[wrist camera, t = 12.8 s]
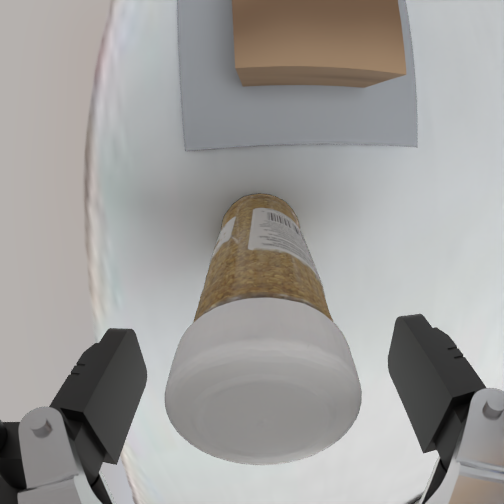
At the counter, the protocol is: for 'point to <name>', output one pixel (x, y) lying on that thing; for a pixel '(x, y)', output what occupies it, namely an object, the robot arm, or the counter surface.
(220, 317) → the sprinkles bottle
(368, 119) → the grey board
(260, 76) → the walnut block
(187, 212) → the counter surface
